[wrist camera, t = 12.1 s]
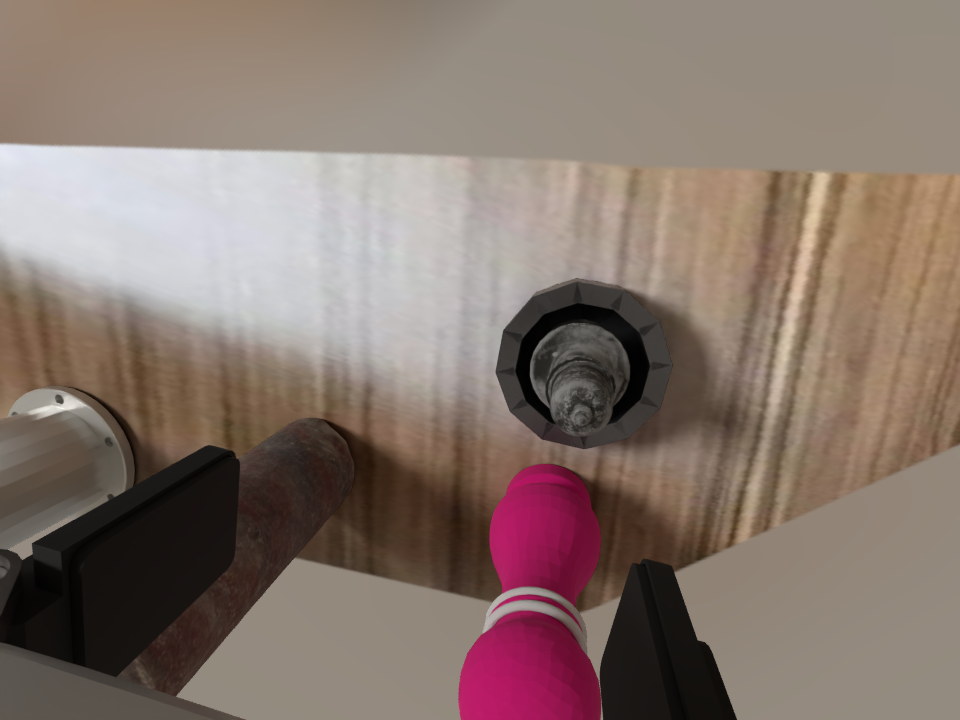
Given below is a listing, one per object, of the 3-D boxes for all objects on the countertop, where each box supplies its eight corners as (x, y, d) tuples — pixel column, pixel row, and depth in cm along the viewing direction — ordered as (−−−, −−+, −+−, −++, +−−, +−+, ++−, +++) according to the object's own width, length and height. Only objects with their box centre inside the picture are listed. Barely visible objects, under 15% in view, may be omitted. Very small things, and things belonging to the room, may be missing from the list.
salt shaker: (637, 383, 31) (674, 461, 20) (553, 411, 33) (543, 500, 21) (605, 300, 31) (625, 333, 19) (520, 334, 32) (492, 383, 21)
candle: (382, 466, 37) (181, 699, 18) (327, 519, 39) (97, 778, 20) (311, 398, 37) (32, 562, 18) (260, 455, 39) (-36, 657, 20)
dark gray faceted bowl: (533, 441, 34) (528, 463, 31) (485, 309, 33) (475, 316, 29) (677, 404, 32) (689, 422, 28) (633, 257, 30) (641, 259, 27)
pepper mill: (504, 449, 35) (422, 696, 16) (605, 465, 34) (645, 754, 15) (495, 534, 37) (411, 848, 18) (589, 553, 36) (608, 909, 17)
